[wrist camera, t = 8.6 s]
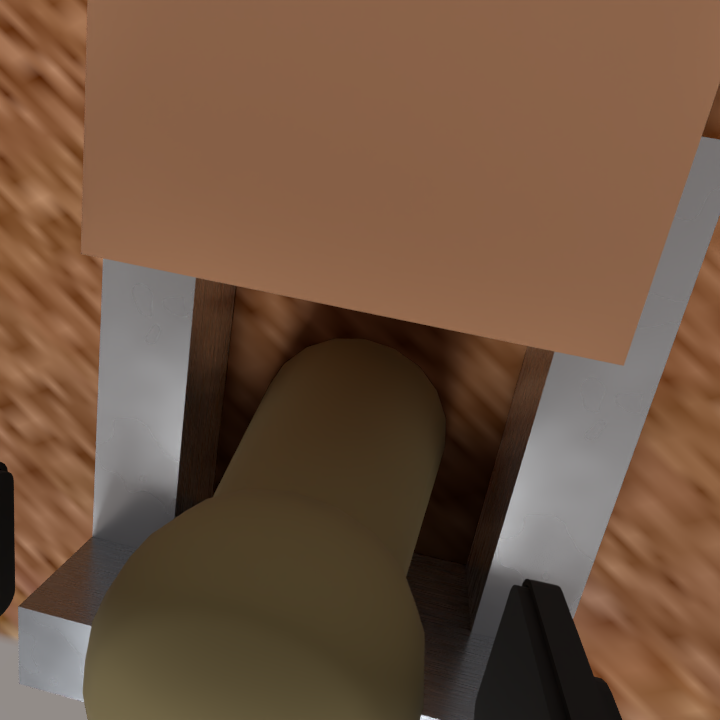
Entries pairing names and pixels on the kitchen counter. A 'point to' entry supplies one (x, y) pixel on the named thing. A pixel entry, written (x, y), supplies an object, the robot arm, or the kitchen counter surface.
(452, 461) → the kitchen counter surface
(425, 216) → the block
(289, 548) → the cork
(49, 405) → the kitchen counter surface
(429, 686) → the u-shaped metal bracket
